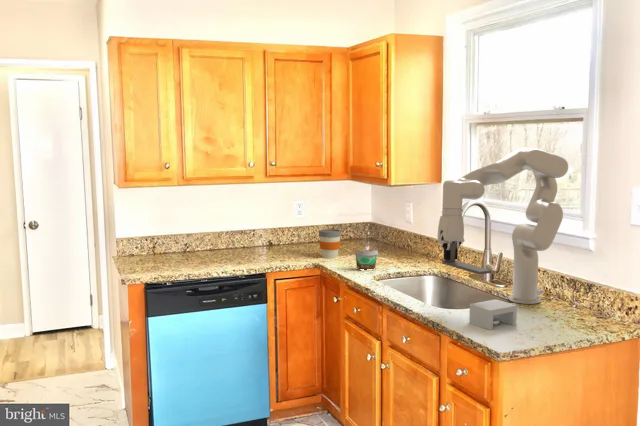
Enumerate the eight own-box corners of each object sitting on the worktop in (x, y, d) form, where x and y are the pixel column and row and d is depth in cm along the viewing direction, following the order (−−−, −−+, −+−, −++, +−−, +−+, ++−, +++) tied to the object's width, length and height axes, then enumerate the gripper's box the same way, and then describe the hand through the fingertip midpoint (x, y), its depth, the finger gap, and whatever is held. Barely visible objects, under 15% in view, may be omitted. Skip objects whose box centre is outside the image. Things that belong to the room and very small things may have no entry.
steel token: (492, 321, 228) (492, 316, 228) (502, 325, 224) (503, 319, 224) (482, 323, 226) (482, 318, 226) (492, 327, 222) (492, 321, 221)
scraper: (441, 263, 244) (442, 243, 243) (452, 261, 247) (453, 242, 246) (479, 274, 227) (480, 253, 226) (491, 273, 230) (492, 251, 229)
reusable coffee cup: (322, 259, 345) (322, 232, 344) (316, 255, 357) (316, 229, 356) (343, 258, 349) (343, 231, 347) (337, 254, 361) (337, 228, 359)
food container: (355, 271, 314) (355, 251, 313) (354, 268, 320) (354, 249, 319) (379, 271, 315) (379, 251, 313) (377, 268, 321) (378, 249, 320)
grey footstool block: (495, 317, 232) (496, 299, 232) (516, 324, 224) (516, 305, 223) (469, 322, 226) (469, 303, 225) (489, 330, 217) (490, 310, 217)
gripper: (460, 210, 249) (459, 255, 251) (429, 212, 241) (428, 259, 243) (474, 212, 243) (472, 259, 245) (442, 214, 235) (441, 262, 237)
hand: (450, 258), depth 244 cm, fingers closed on scraper, 3 cm apart
